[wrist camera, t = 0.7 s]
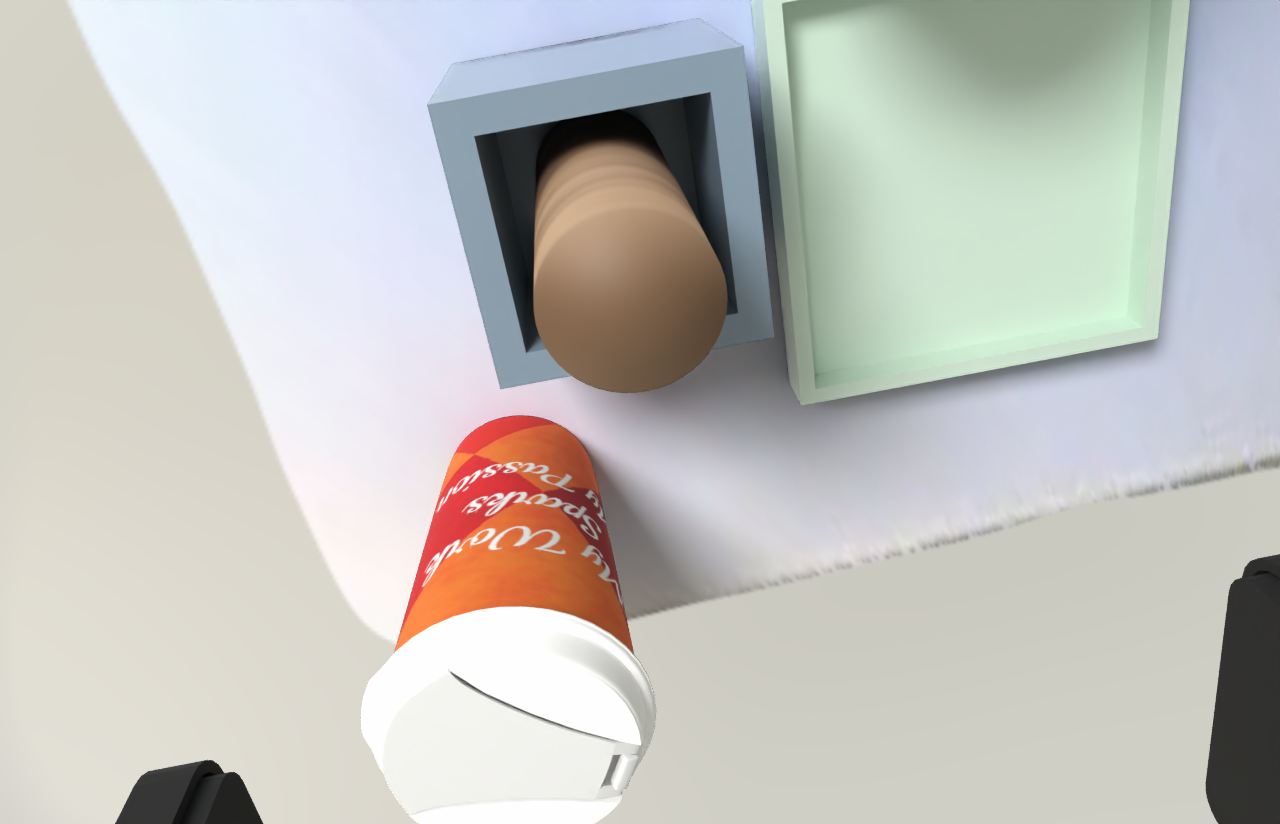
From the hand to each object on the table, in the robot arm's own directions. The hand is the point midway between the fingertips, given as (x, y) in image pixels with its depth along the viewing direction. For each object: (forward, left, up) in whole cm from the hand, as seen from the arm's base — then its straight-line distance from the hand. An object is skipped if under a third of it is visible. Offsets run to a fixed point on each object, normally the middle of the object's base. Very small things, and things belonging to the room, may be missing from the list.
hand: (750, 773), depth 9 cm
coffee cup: (+13, -6, -28) cm, 31 cm away
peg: (+1, 0, -27) cm, 27 cm away
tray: (+3, +13, -28) cm, 31 cm away
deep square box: (+1, 0, -28) cm, 28 cm away
